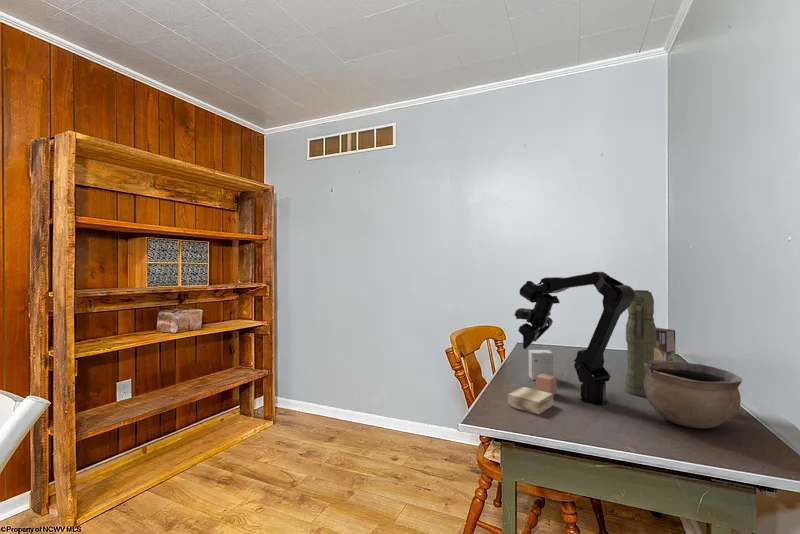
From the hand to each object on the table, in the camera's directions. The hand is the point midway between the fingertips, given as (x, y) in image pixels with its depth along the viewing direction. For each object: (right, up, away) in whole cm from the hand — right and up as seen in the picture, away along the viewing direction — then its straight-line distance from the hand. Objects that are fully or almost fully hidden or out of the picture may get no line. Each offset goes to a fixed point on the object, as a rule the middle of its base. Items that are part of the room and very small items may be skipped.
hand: (529, 344), depth 150 cm
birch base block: (-9, -14, -27) cm, 32 cm away
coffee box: (+62, -13, +18) cm, 66 cm away
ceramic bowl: (+31, -14, -40) cm, 53 cm away
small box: (+5, -13, +1) cm, 14 cm away
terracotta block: (0, -14, -16) cm, 21 cm away
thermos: (+33, -14, -16) cm, 39 cm away
